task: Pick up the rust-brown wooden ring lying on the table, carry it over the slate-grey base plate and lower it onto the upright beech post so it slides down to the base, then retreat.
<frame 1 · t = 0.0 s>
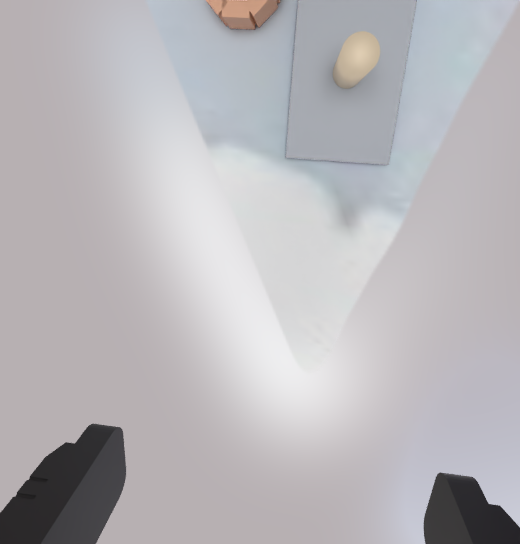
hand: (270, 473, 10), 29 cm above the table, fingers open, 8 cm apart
post block: (346, 74, 32), on the table
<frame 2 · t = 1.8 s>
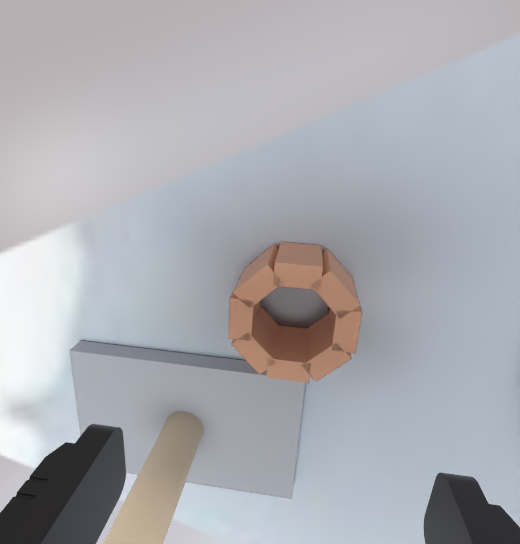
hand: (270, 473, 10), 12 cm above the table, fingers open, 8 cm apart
ring: (295, 296, 21), on the table
post block: (190, 414, 25), on the table
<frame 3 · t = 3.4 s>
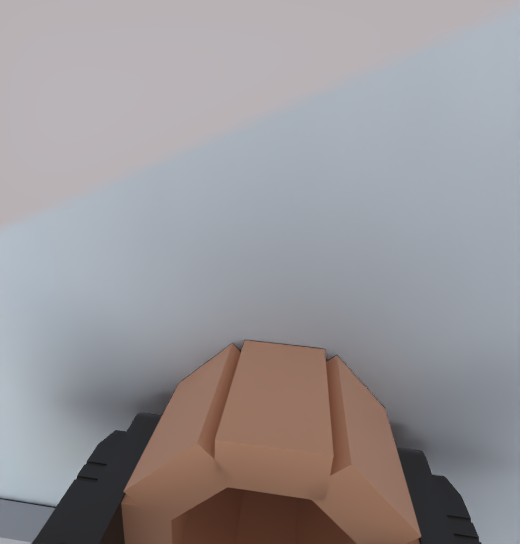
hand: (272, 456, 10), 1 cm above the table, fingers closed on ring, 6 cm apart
ring: (275, 434, 11), on the table, touching gripper
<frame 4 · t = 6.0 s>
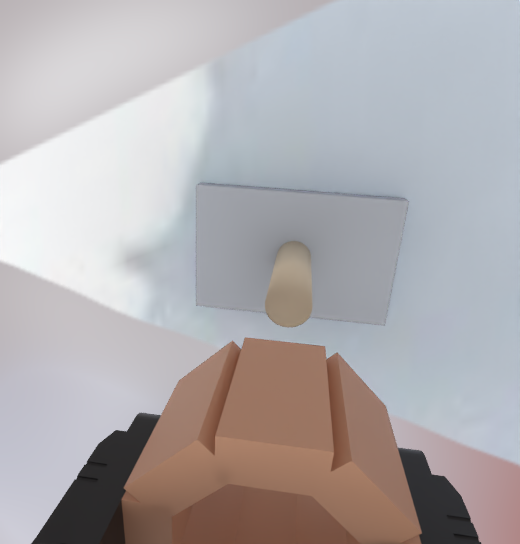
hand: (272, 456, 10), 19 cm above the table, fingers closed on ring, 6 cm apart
ring: (276, 432, 11), point 18 cm above the table, touching gripper
post block: (294, 252, 28), on the table
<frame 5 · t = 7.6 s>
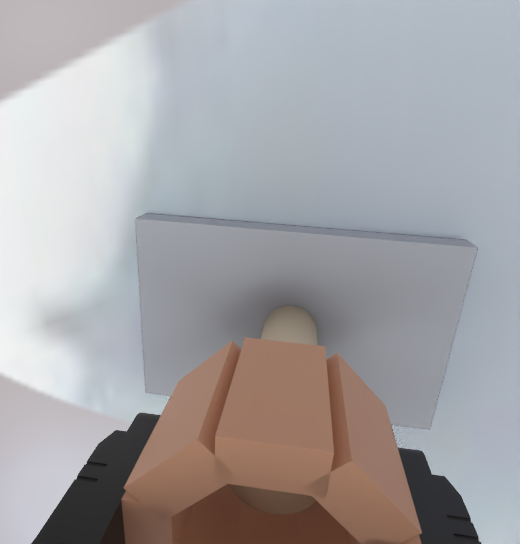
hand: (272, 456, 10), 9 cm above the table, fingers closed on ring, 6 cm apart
ring: (276, 432, 11), point 8 cm above the table, touching gripper
post block: (291, 317, 18), on the table
when the fingers open (5 cm above the table, at t = 8.9 s): ring drops 3 cm, resting on post block.
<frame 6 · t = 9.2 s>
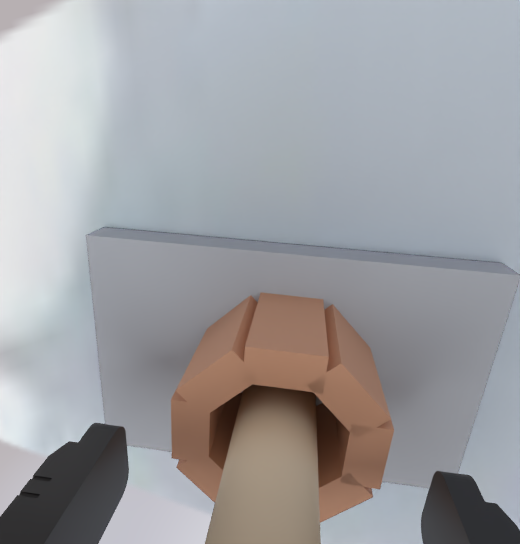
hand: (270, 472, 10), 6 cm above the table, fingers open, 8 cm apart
ring: (283, 371, 14), point 1 cm above the table, touching post block
post block: (283, 354, 15), on the table
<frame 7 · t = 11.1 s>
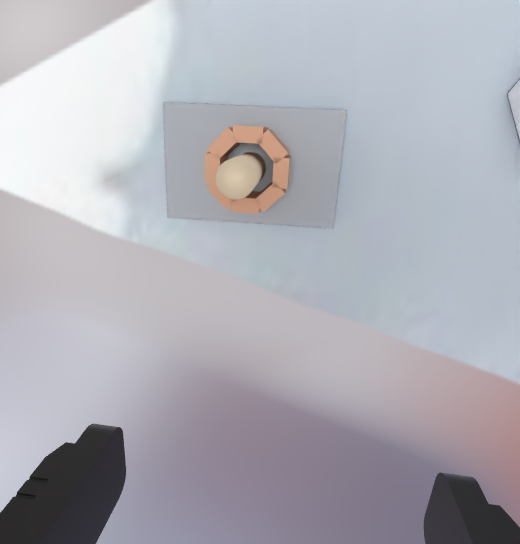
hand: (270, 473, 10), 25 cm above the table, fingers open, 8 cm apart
ring: (251, 166, 30), point 1 cm above the table, touching post block
post block: (252, 166, 32), on the table
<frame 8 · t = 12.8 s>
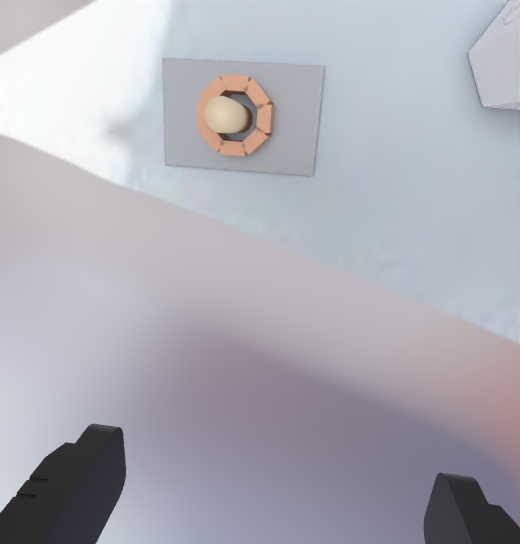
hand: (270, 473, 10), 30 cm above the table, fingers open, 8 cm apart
ring: (240, 118, 34), point 1 cm above the table, touching post block
post block: (241, 119, 35), on the table
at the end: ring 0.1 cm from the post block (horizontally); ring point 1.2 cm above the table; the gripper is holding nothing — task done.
